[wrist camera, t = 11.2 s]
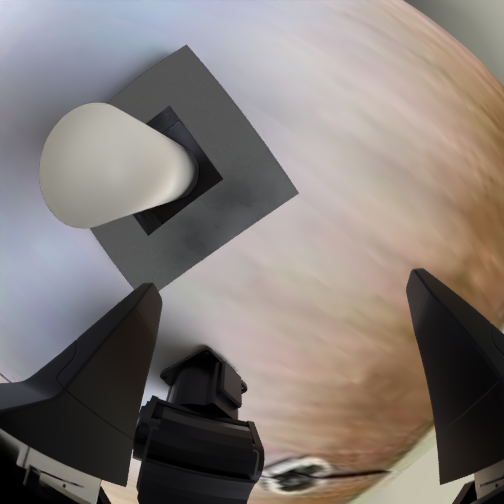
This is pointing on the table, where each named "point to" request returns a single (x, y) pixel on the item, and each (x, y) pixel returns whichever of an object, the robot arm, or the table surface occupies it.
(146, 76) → the collar
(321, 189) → the table surface
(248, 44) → the table surface
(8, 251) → the table surface
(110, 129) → the peg
